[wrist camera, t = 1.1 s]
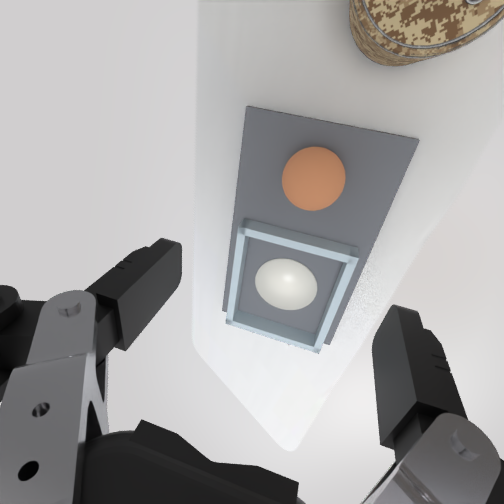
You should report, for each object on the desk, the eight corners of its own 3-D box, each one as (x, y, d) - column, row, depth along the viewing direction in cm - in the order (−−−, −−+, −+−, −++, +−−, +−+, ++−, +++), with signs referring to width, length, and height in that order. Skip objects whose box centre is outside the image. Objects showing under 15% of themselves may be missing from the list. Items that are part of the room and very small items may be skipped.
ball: (294, 135, 24) (283, 147, 20) (353, 148, 23) (355, 162, 19) (282, 191, 27) (270, 211, 23) (335, 204, 26) (333, 227, 22)
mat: (248, 105, 25) (246, 106, 24) (418, 138, 22) (419, 140, 22) (223, 307, 38) (222, 310, 37) (329, 341, 35) (329, 345, 35)
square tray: (244, 218, 29) (238, 226, 28) (358, 247, 28) (359, 258, 26) (230, 312, 37) (225, 323, 35) (320, 340, 35) (318, 353, 33)
